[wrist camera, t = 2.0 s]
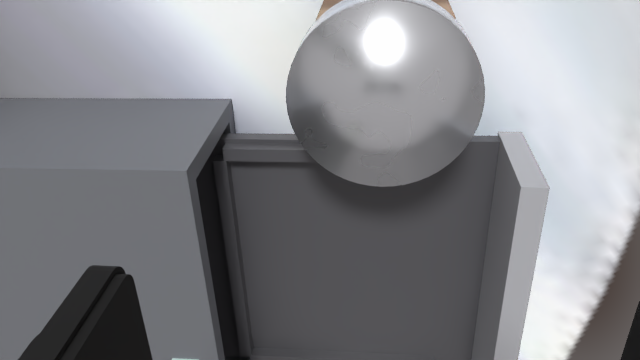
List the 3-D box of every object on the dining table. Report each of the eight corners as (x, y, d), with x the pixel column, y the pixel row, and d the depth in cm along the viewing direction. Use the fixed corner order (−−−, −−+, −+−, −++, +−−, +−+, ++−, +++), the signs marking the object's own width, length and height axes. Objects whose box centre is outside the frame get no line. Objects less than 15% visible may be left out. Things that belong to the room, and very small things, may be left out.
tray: (147, 128, 26) (103, 179, 22) (522, 132, 25) (549, 187, 21) (191, 348, 33) (163, 419, 29) (487, 363, 32) (502, 440, 27)
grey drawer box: (-86, 98, 28) (-220, 166, 22) (231, 99, 27) (184, 173, 20) (10, 337, 36) (-68, 437, 30) (260, 349, 34) (233, 458, 28)
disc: (287, -9, 21) (279, 2, 19) (487, -13, 20) (495, -1, 18) (298, 163, 24) (292, 185, 22) (468, 166, 23) (474, 188, 22)
